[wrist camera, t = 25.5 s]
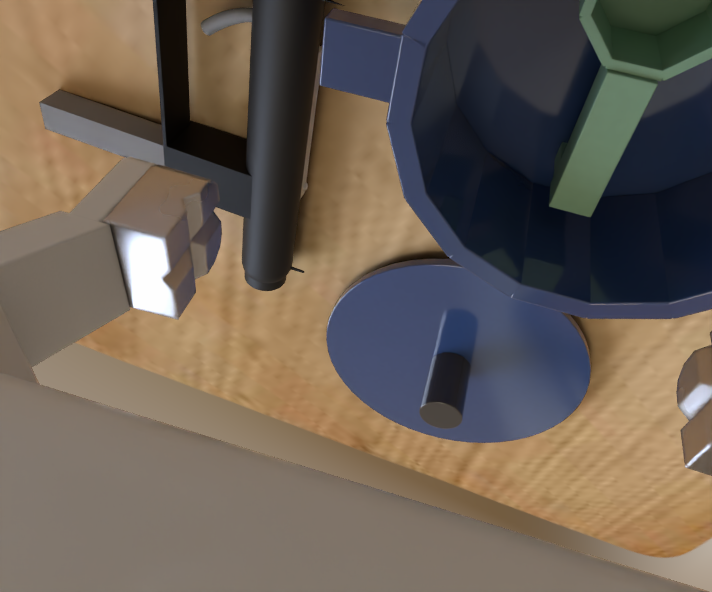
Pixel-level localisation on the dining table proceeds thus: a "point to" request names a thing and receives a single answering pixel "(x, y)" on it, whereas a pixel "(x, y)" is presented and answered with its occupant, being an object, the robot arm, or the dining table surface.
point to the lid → (456, 353)
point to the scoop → (624, 85)
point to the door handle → (219, 149)
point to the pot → (535, 155)
